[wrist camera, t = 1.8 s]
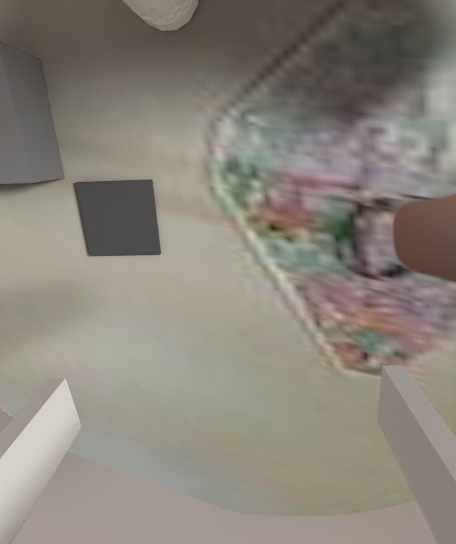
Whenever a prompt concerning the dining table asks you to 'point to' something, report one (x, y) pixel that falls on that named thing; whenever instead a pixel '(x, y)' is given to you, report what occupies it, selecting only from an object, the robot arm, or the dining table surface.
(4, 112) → the socket
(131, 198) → the mat
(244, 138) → the dining table surface
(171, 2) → the white cup
